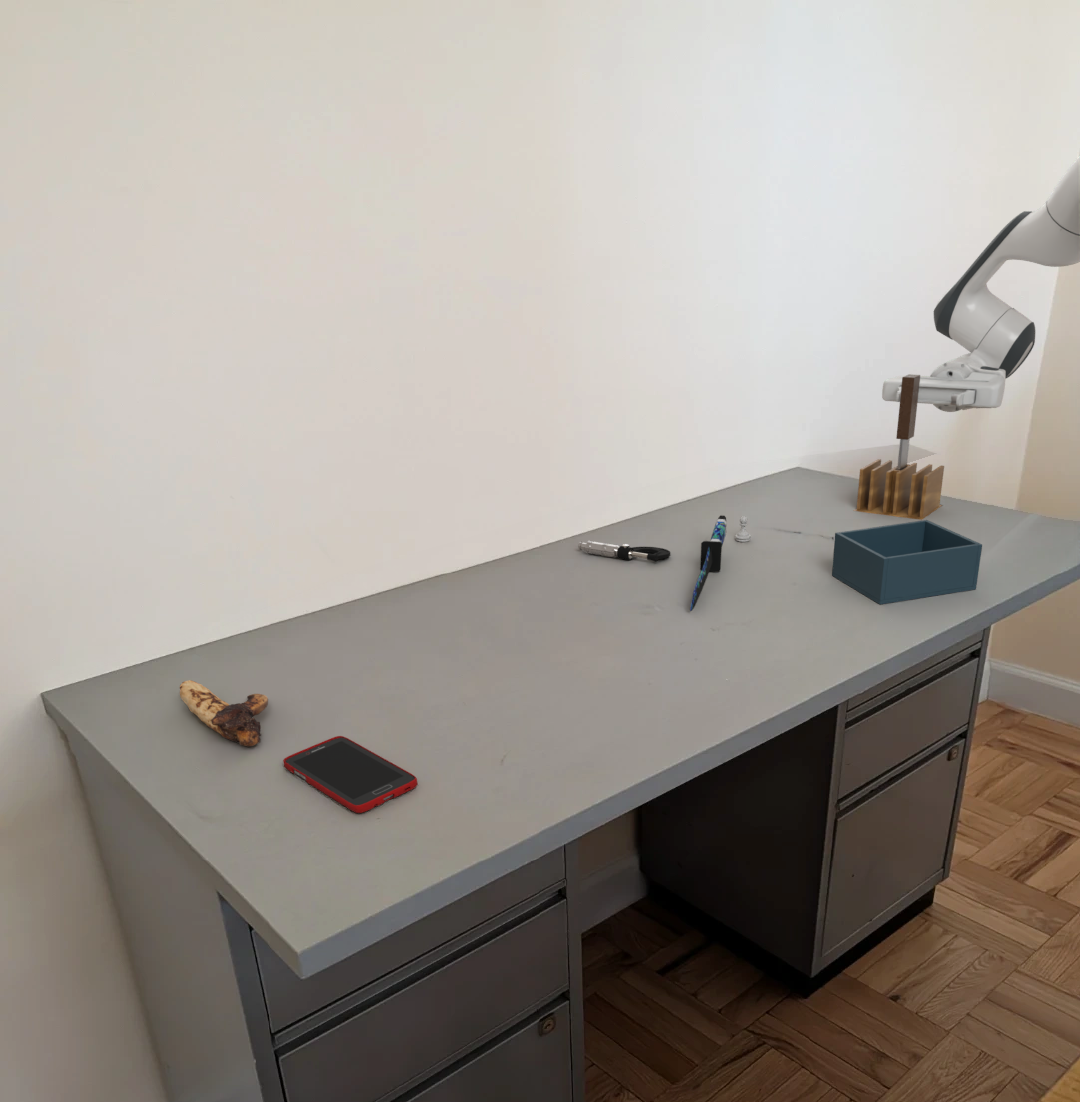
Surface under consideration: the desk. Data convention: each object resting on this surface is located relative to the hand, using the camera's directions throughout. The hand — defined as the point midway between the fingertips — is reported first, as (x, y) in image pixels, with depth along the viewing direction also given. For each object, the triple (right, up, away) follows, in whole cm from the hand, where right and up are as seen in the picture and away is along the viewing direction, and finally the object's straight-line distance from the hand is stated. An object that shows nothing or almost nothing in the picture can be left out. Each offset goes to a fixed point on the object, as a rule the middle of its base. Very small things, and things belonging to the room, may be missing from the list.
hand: (927, 398), depth 178 cm
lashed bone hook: (-102, -55, -56) cm, 129 cm away
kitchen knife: (-4, -18, +2) cm, 19 cm away
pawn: (-33, -25, -5) cm, 42 cm away
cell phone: (-86, -61, -70) cm, 127 cm away
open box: (-14, -35, -27) cm, 47 cm away
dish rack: (-4, -19, +2) cm, 20 cm away
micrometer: (-52, -28, -9) cm, 60 cm away
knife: (-41, -34, -21) cm, 58 cm away
